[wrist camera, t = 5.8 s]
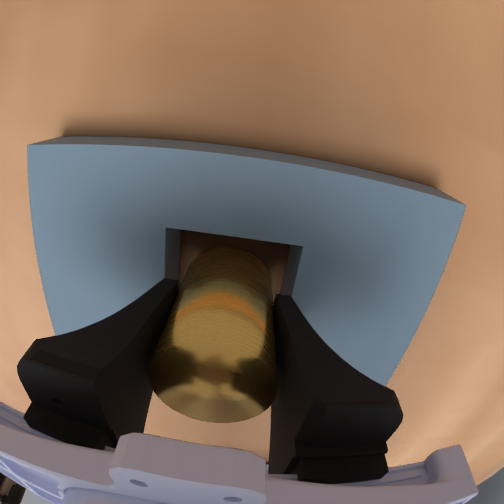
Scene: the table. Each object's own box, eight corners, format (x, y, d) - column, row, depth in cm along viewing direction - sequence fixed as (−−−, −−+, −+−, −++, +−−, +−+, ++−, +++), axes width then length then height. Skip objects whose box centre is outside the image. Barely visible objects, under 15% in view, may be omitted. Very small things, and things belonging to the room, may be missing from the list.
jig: (369, 359, 19) (381, 392, 16) (78, 319, 18) (59, 347, 16) (435, 188, 14) (466, 205, 11) (61, 136, 13) (27, 145, 11)
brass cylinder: (264, 325, 15) (265, 427, 10) (184, 314, 15) (153, 411, 10) (279, 253, 13) (290, 351, 8) (187, 240, 13) (143, 330, 8)
